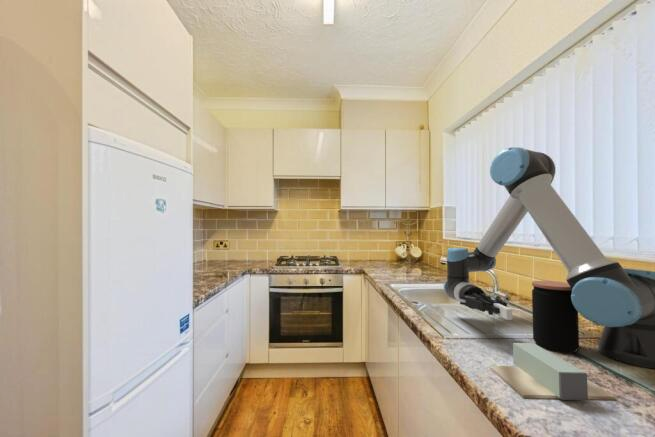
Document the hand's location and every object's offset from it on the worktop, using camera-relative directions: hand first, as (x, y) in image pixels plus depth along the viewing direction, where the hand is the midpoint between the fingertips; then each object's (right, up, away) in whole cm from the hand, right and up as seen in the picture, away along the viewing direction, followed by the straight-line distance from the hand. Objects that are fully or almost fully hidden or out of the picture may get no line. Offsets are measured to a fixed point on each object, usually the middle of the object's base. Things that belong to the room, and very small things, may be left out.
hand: (509, 314), depth 80 cm
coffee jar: (+18, -12, +7) cm, 23 cm away
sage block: (0, -8, -5) cm, 10 cm away
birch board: (0, -11, -14) cm, 17 cm away
